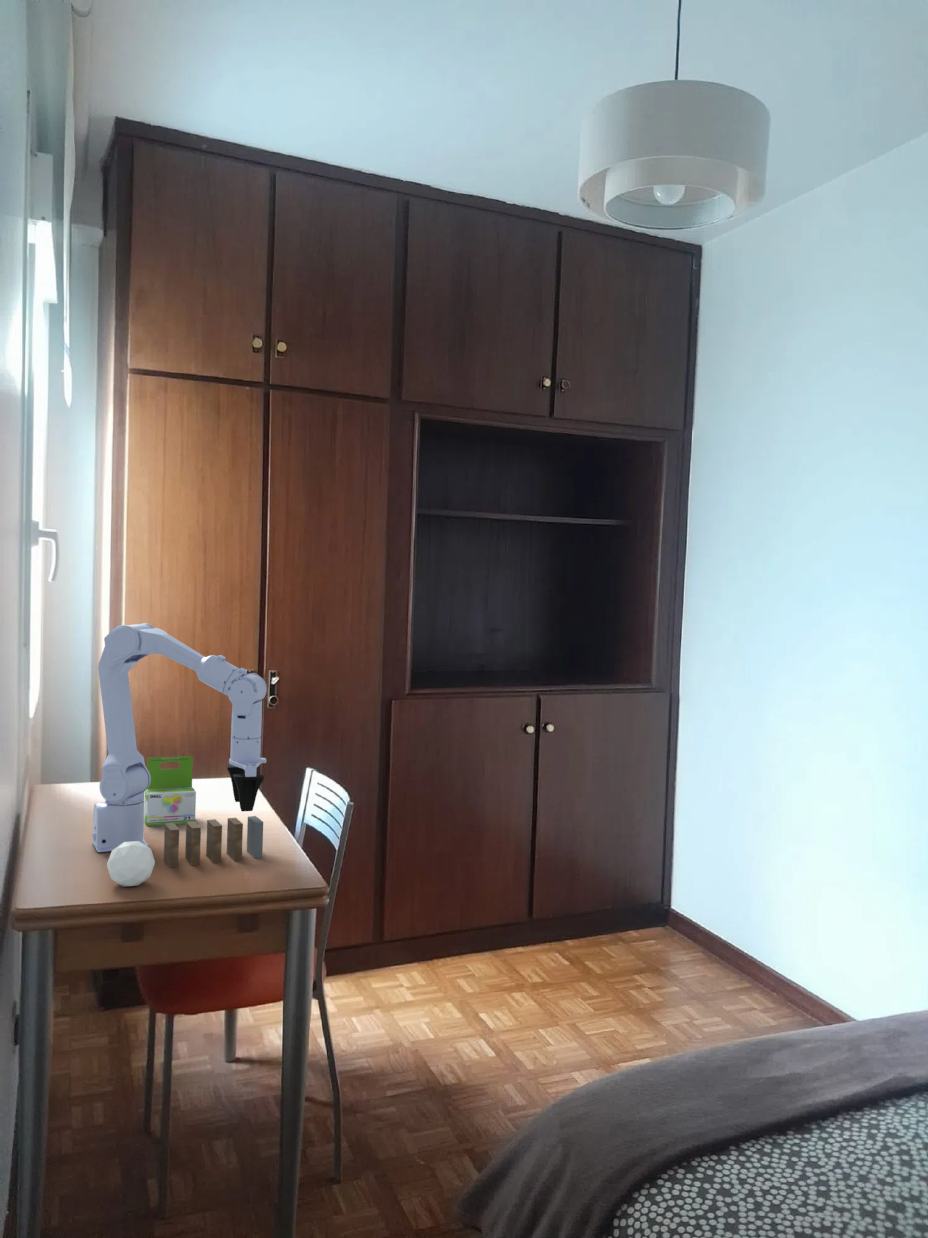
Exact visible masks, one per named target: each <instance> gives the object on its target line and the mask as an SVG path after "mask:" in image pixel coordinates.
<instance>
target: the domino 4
mask: <svg viewBox="0 0 928 1238" xmlns="http://www.w3.org/2000/svg"><path fill="white" fill-rule="evenodd" d="M243 829H244V823H243V822H241V820H239V819H238V818H237V817H229V818H228V817H227V829H226V830H227V832H226V833H227V834H226V855H227V856H228V857H229V858H230V859H231V860H232V861H241V860H243Z"/></svg>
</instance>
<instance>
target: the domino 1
mask: <svg viewBox="0 0 928 1238" xmlns="http://www.w3.org/2000/svg"><path fill="white" fill-rule="evenodd" d="M163 841H164V844H163V845H164V846H163V861H164V862H165V864H166V865H167V866H168V868H177V867H179V855H180V854H179V851H180V849H179V848H180V847H179V846H180V828H178V826H177V825H175V824H174V823H167V824H165V825H164V840H163Z"/></svg>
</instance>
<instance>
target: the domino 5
mask: <svg viewBox="0 0 928 1238" xmlns="http://www.w3.org/2000/svg"><path fill="white" fill-rule="evenodd" d="M246 827H247V829H246V831H247V833H246V853H247V854H249V855H250V856H251V857H252V858H253V859H263V846H264V845H263V844H264V843H263V842H264V821H263V820H261V819H260V818H259V817H258V816H256V815H251V816H247V825H246Z"/></svg>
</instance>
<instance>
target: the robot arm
mask: <svg viewBox="0 0 928 1238" xmlns="http://www.w3.org/2000/svg"><path fill="white" fill-rule="evenodd" d="M149 655H161V656H164V657H166V658H168V659H170V660H173V661H174V662H176V663H178V664H180V665H182V666H184V667H186V668H189V669H190V670H192V671H194V672H195V673H196V676H197V679H198V681H199V682H202V683H203V684H205V685H207V686H209V687H210V688H212V689H214V690H216V691H217V692H219V693H221V694H223V695H225V696H227V697H228V700H229V701H230V703H231V705H232V706H231V707H232V708H231V722H230V726H231V727H230V729H231V730H230V750H229V751H230V755H229V759H228V764H229V765H226V767H225V768H226V769H227V771H228V774H229V776H230V780H231V784H232V785H231V787H232V791H233V798H234V802H235V803H239V808H240V811H241V812H252V811H253V810H254V807H255V804H256V798H257V795H258V791H259V788H260V787H261V785H262V783H263V781H264V779H265V775H264V774H257V768H258V767H260V765H261V764H266V763H267V758H266V757H261V751H262V750H261V749H262V748H261V747H262V746H261V745H262V726H263V724H262V723H263V722H262V721H263V719H262V717H263V699H264V698H265V697H266V695H267V691H268V685H267V683H266V681H265V679H264V678H263V677H261V676H260V675H259V674H258V673H255V672H251V673H247V669H245V667H240V668H239V667H237V666H236V665H234V664H232V663H230V662H229V661H226V659H227V657H226V656H224V655H222V654H220V655H215V654H212V655H208V656H204V655H203V654H202V653H200V652H198V651H196V650H195V649H193V648H191V647H190V646H188V645H186V644H185V643H183V642H181V641H180V640H178V639H177V638H175V637H174V636H173V635H170V634H169V633H167V632H166V631H165V630H163V629H161V628H158V627H155V626H153V624H150V623H146V622H142V623H139V624H138V623H137V624H129V625H128V624H121V625H118V626H117V625H116V627H114V628H113V629H111V631H110V632H108V634H107V635H106V636H105V637H104V647H103V651H102V652H101V655H100V659H99V662H98V665H97V666H98V678H99V685H100V686H99V687H100V695H101V703H102V711H103V719H104V720H103V721H104V730H105V737H106V747H107V756H106V759H105V761H104V762H103V764H102V766H101V771H102V773H101V774H102V775H101V779H100V781H99V792H100V794H101V797H102V798H103V799H104V800H105V801H103V802H97V803H94V804H93V813H92V814H93V815H92V816H93V817H92V841H91V842H92V845H93V847H94V848H95V851H97V852H98V853H105V852H112V850H114V849H115V848H116V847H118V846H119V845H120V844H122V843H123V842H130V841H140V842H141V843H143V844H144V845H146V846H147V847H149V844H148V843H147V841H146V840H145V838H144V830H145V829H144V825H145V821H144V806H145V803H144V802H145V791H146V790H147V789H148V787H149V785H150V782H151V776H150V773H149V771H148V769H147V765H146V763H145V757H144V756H143V754H142V753H141V752H140V751H138V747H137V739H136V730H135V722H134V712H133V705H132V696H131V687H130V679H129V672H130V671H131V669H133V668H134V667H135V665H136V664H137V663H139V661H140V660H142V659H144V658H145V657H147V656H149Z"/></svg>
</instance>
